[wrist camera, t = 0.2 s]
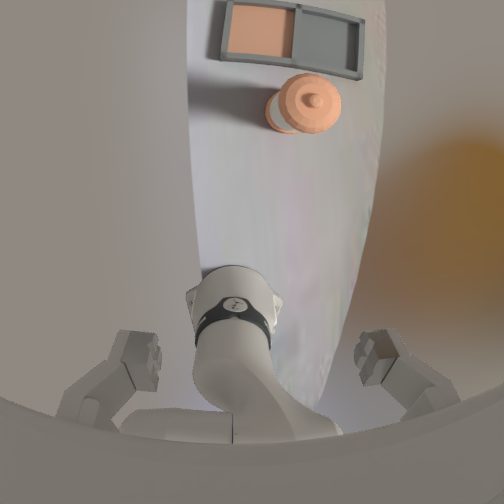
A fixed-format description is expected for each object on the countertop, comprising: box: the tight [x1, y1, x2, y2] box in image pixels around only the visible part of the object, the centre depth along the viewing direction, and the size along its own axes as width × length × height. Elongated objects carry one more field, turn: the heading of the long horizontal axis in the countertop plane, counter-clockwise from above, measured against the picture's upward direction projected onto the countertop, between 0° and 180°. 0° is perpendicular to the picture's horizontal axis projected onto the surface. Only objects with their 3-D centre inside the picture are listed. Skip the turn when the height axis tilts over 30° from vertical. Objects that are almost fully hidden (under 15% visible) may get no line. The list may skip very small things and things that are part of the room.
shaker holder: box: [220, 0, 365, 81], centre depth 36 cm, size 12×23×2 cm, turn 85°
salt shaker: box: [265, 73, 341, 134], centre depth 34 cm, size 7×7×19 cm
